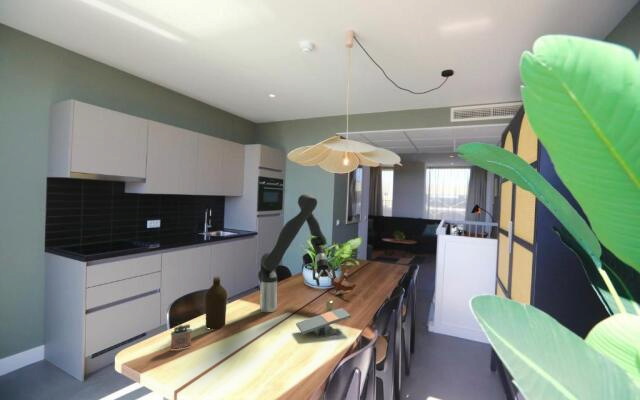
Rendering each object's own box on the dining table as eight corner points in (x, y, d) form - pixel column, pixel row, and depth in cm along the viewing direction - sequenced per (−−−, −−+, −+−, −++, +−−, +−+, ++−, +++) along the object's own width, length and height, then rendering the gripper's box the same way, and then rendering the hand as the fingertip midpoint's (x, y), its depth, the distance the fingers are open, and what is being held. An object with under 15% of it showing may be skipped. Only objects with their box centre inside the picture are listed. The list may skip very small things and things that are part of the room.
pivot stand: (318, 338, 136) (319, 328, 136) (309, 327, 147) (310, 318, 147) (337, 335, 140) (337, 325, 140) (327, 324, 151) (327, 316, 151)
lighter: (170, 352, 121) (171, 328, 120) (170, 348, 124) (171, 325, 123) (191, 348, 124) (192, 325, 124) (191, 344, 127) (191, 322, 127)
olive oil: (222, 330, 141) (223, 280, 141) (200, 330, 141) (202, 279, 141) (229, 321, 151) (230, 274, 151) (209, 320, 152) (210, 274, 151)
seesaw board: (302, 334, 134) (302, 331, 134) (296, 325, 143) (295, 322, 143) (350, 317, 144) (350, 314, 144) (341, 309, 153) (341, 307, 153)
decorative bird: (368, 291, 196) (362, 272, 193) (349, 306, 187) (343, 286, 183) (342, 280, 220) (337, 263, 216) (324, 293, 210) (318, 276, 207)
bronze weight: (327, 319, 157) (328, 303, 157) (324, 316, 161) (325, 300, 161) (335, 318, 159) (335, 302, 159) (331, 315, 163) (332, 299, 163)
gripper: (311, 259, 178) (315, 282, 167) (333, 258, 181) (338, 281, 170) (310, 265, 183) (313, 288, 172) (331, 264, 187) (335, 287, 175)
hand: (325, 285), depth 171 cm, fingers open, 8 cm apart
